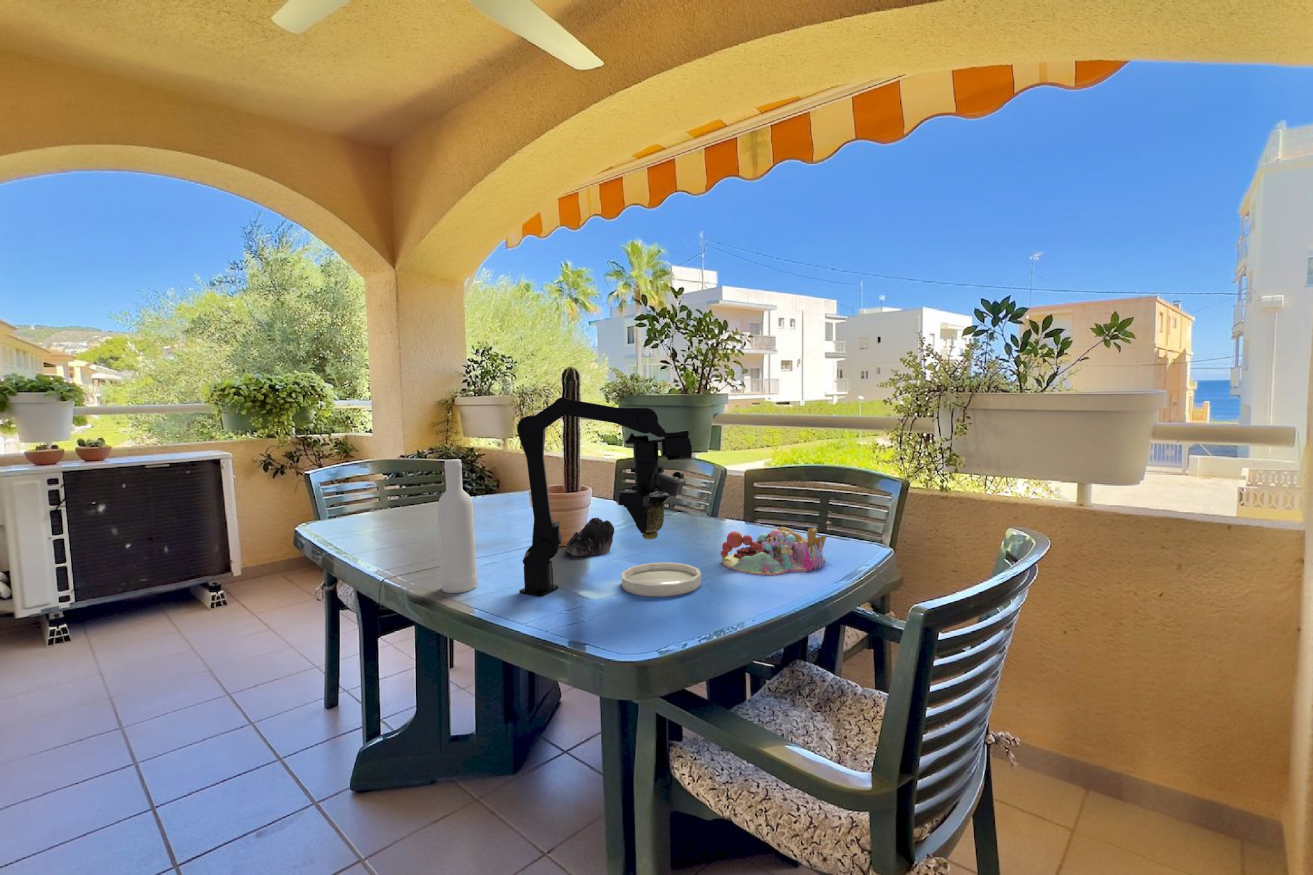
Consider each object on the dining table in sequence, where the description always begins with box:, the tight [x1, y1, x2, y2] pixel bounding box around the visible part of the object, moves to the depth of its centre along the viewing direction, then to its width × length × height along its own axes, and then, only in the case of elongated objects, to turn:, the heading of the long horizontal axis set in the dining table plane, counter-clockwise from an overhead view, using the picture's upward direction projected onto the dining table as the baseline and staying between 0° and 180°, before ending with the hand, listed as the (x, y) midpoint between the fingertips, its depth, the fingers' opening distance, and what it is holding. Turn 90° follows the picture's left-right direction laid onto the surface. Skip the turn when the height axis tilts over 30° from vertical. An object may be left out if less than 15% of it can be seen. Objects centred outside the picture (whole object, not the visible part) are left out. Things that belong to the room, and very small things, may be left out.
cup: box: [635, 502, 665, 540], centre depth 139 cm, size 8×7×8 cm
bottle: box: [436, 458, 478, 594], centre depth 139 cm, size 8×8×30 cm
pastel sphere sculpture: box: [720, 526, 827, 576], centre depth 153 cm, size 25×24×9 cm
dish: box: [621, 561, 703, 598], centre depth 138 cm, size 18×18×2 cm
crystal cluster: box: [565, 517, 615, 557], centre depth 171 cm, size 14×14×10 cm
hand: (649, 529), depth 139 cm, fingers closed on cup, 7 cm apart
